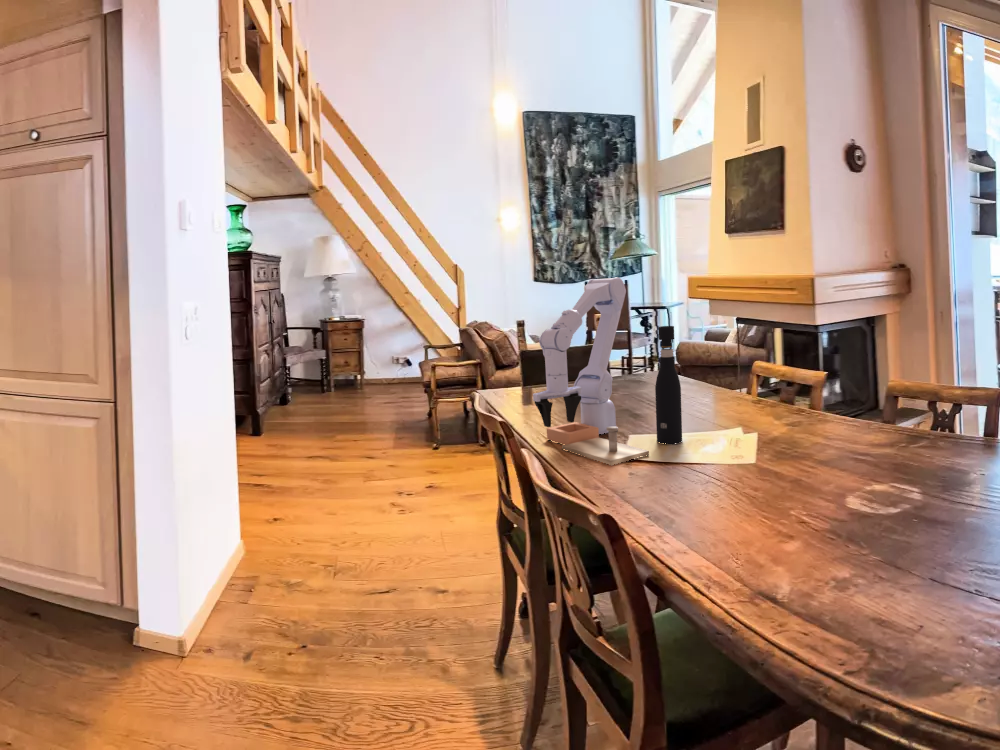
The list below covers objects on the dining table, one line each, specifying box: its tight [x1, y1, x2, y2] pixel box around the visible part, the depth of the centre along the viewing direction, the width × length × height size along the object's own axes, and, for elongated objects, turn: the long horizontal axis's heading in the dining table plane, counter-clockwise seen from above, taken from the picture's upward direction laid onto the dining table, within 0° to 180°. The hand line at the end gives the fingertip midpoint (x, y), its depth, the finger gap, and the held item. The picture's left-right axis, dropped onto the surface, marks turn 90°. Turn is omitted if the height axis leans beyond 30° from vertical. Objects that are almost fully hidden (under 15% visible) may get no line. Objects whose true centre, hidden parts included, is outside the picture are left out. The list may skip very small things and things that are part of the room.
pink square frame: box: [546, 421, 600, 445], centre depth 173 cm, size 10×10×4 cm
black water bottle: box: [654, 325, 683, 445], centre depth 163 cm, size 6×6×30 cm
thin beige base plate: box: [561, 426, 650, 466], centre depth 158 cm, size 12×19×7 cm, turn 30°
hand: (559, 424), depth 170 cm, fingers open, 7 cm apart
